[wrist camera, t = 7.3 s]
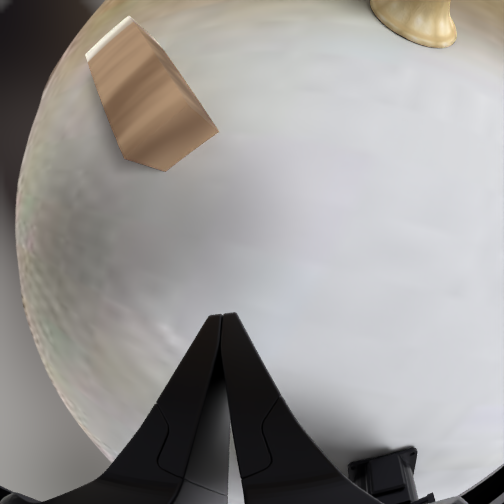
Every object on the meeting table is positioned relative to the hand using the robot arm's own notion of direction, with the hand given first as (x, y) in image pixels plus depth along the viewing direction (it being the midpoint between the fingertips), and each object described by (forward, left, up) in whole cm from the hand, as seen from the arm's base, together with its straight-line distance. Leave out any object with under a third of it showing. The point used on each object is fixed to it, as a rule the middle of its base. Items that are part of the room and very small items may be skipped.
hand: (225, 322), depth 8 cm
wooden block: (+10, +4, -8) cm, 13 cm away
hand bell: (+18, -18, -10) cm, 28 cm away
